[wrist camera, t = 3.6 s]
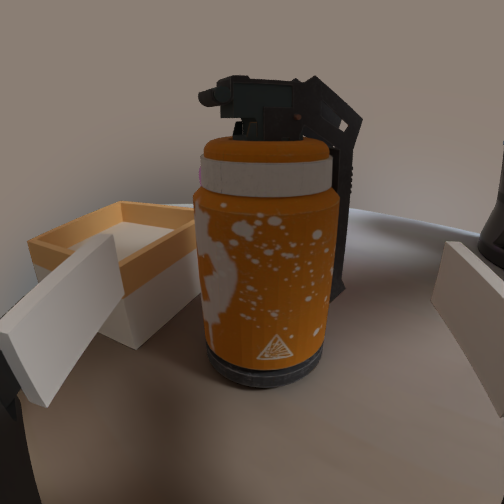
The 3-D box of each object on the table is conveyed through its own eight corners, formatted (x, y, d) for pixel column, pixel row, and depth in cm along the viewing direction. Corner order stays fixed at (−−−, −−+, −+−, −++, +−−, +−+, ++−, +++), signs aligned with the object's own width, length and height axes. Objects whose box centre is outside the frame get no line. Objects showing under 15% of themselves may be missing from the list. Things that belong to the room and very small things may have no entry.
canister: (194, 334, 27) (174, 81, 19) (305, 304, 31) (315, 85, 23) (232, 409, 20) (216, 57, 11) (363, 358, 24) (401, 82, 15)
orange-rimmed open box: (128, 253, 42) (120, 200, 39) (220, 274, 37) (217, 211, 34) (45, 303, 30) (27, 241, 27) (136, 350, 25) (116, 269, 22)
